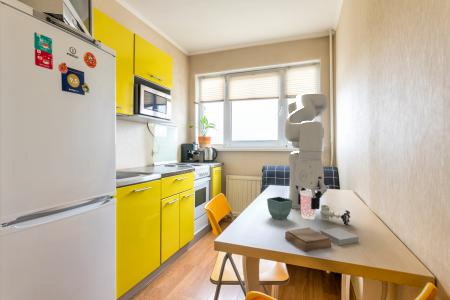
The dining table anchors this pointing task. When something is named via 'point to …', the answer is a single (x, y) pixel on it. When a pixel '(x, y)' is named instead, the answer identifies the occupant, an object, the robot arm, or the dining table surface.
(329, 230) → the grey stand
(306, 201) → the beverage cup
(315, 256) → the dining table surface
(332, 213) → the valve
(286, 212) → the flower pot
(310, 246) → the walnut stand
